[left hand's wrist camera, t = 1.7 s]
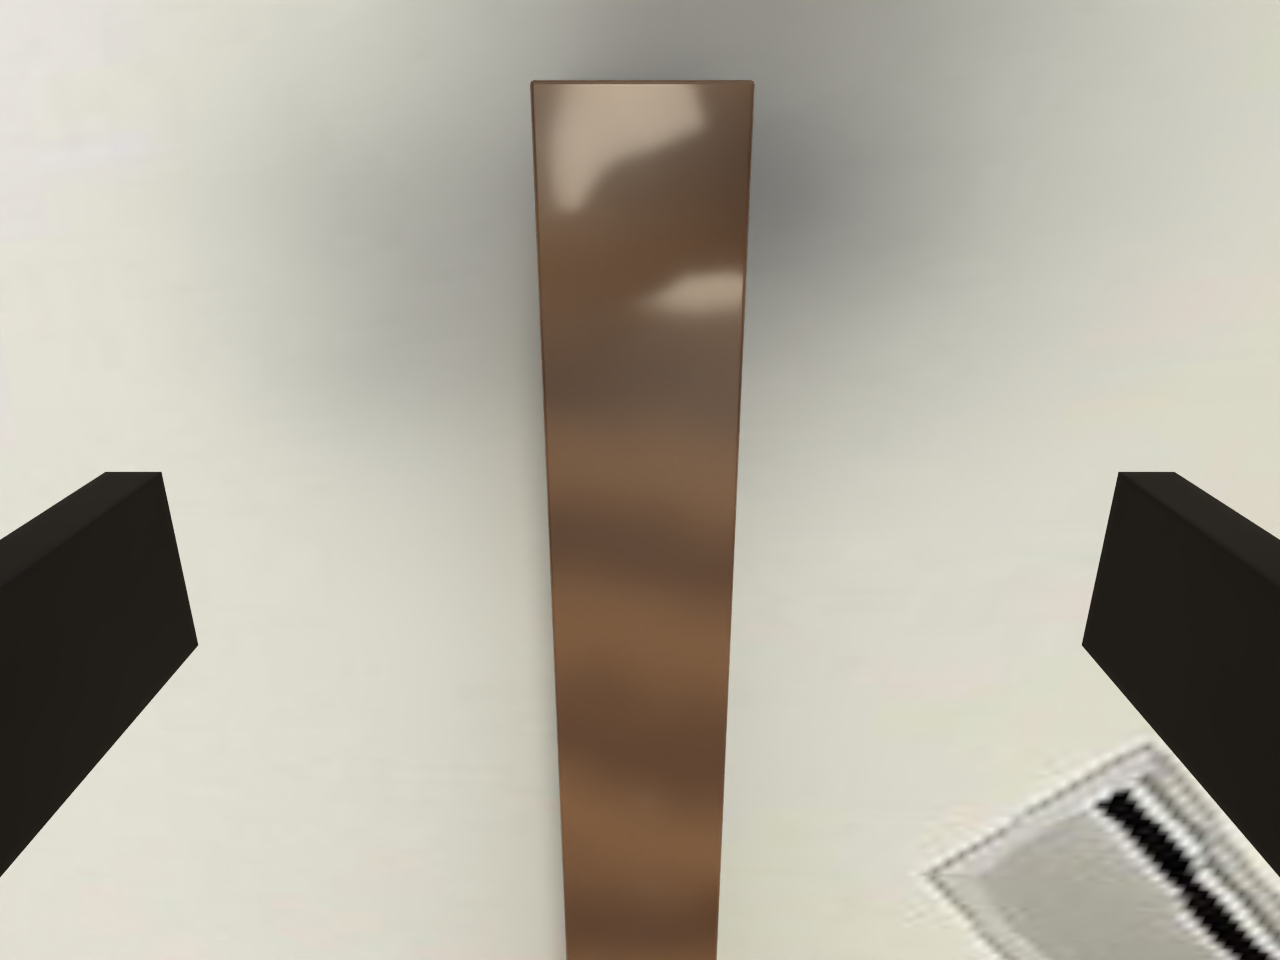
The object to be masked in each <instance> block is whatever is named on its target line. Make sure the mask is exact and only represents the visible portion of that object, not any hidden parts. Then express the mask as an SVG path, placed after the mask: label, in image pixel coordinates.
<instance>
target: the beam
mask: <svg viewBox="0 0 1280 960" xmlns="http://www.w3.org/2000/svg"><path fill="white" fill-rule="evenodd" d="M530 92H531V116H532V140H533V164H534V188H535V212H536V236H537V260H538V284H539V308H540V332H541V356H542V380H543V404H544V428H545V452H546V476H547V500H548V524H549V548H550V572H551V596H552V620H553V644H554V668H555V692H556V716H557V740H558V764H559V788H560V812H561V836H562V860H563V884H564V909H565V933H566V957H567V960H717V937H718V914H719V891H720V868H721V845H722V822H723V799H724V776H725V752H726V729H727V706H728V683H729V660H730V637H731V614H732V591H733V568H734V545H735V522H736V499H737V476H738V453H739V430H740V407H741V384H742V361H743V338H744V315H745V292H746V269H747V246H748V223H749V200H750V177H751V154H752V131H753V108H754V81H752V80H533V81H531V84H530Z"/></svg>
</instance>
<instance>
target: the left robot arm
mask: <svg viewBox="0 0 1280 960" xmlns="http://www.w3.org/2000/svg"><path fill="white" fill-rule="evenodd" d="M197 646H198V642H197V637H196V632H195V628H194V623H193V618H192V614H191V609H190V604H189V600H188V595H187V590H186V585H185V581H184V576H183V571H182V567H181V562H180V557H179V553H178V548H177V543H176V538H175V534H174V529H173V524H172V520H171V515H170V510H169V506H168V501H167V496H166V491H165V487H164V482H163V477H162V473H161V472H105V473H103V474H102V475H100V476H99V477H97V478H95V479H94V480H92V481H91V482H89V483H88V484H86V485H85V486H83V487H81V488H80V489H78V490H77V491H75V492H74V493H72V494H71V495H69V496H68V497H66V498H64V499H63V500H61V501H60V502H58V503H57V504H55V505H54V506H52V507H50V508H49V509H47V510H46V511H44V512H43V513H41V514H40V515H38V516H36V517H35V518H33V519H32V520H30V521H29V522H27V523H26V524H24V525H23V526H21V527H19V528H18V529H16V530H15V531H13V532H12V533H10V534H9V535H7V536H5V537H4V538H2V539H1V540H0V877H1V876H2V874H3V873H4V872H5V871H6V870H7V869H8V867H9V866H10V865H11V864H12V863H13V862H14V860H15V859H16V858H17V857H18V856H19V855H20V853H21V852H22V851H23V850H24V849H25V848H26V846H27V845H28V844H29V843H30V842H31V840H32V839H33V838H34V837H35V836H36V835H37V833H38V832H39V831H40V830H41V829H42V828H43V826H44V825H45V824H46V823H47V822H48V821H49V819H50V818H51V817H52V816H53V815H54V814H55V812H56V811H57V810H58V809H59V808H60V807H61V805H62V804H63V803H64V802H65V801H66V799H67V798H68V797H69V796H70V795H71V794H72V792H73V791H74V790H75V789H76V788H77V787H78V785H79V784H80V783H81V782H82V781H83V780H84V778H85V777H86V776H87V775H88V774H89V773H90V771H91V770H92V769H93V768H94V767H95V765H96V764H97V763H98V762H99V761H100V760H101V758H102V757H103V756H104V755H105V754H106V753H107V751H108V750H109V749H110V748H111V747H112V746H113V744H114V743H115V742H116V741H117V740H118V739H119V737H120V736H121V735H122V734H123V733H124V732H125V730H126V729H127V728H128V727H129V726H130V724H131V723H132V722H133V721H134V720H135V719H136V717H137V716H138V715H139V714H140V713H141V712H142V710H143V709H144V708H145V707H146V706H147V705H148V703H149V702H150V701H151V700H152V699H153V698H154V696H155V695H156V694H157V693H158V692H159V691H160V689H161V688H162V687H163V686H164V685H165V683H166V682H167V681H168V680H169V679H170V678H171V676H172V675H173V674H174V673H175V672H176V671H177V669H178V668H179V667H180V666H181V665H182V664H183V662H184V661H185V660H186V659H187V658H188V657H189V655H190V654H191V653H192V652H193V651H194V650H195V648H196V647H197ZM1082 646H1083V647H1084V648H1085V650H1086V651H1087V652H1088V653H1089V654H1090V655H1091V657H1092V658H1093V659H1094V660H1095V661H1096V662H1097V664H1098V665H1099V666H1100V667H1101V668H1102V669H1103V671H1104V672H1105V673H1106V674H1107V675H1108V676H1109V678H1110V679H1111V680H1112V681H1113V682H1114V683H1115V685H1116V686H1117V687H1118V688H1119V689H1120V691H1121V692H1122V693H1123V694H1124V695H1125V696H1126V698H1127V699H1128V700H1129V701H1130V702H1131V703H1132V705H1133V706H1134V707H1135V708H1136V709H1137V710H1138V712H1139V713H1140V714H1141V715H1142V716H1143V717H1144V719H1145V720H1146V721H1147V722H1148V723H1149V724H1150V726H1151V727H1152V728H1153V729H1154V730H1155V732H1156V733H1157V734H1158V735H1159V736H1160V737H1161V739H1162V740H1163V741H1164V742H1165V743H1166V744H1167V746H1168V747H1169V748H1170V749H1171V750H1172V751H1173V753H1174V754H1175V755H1176V756H1177V757H1178V758H1179V760H1180V761H1181V762H1182V763H1183V764H1184V766H1185V767H1186V768H1187V769H1188V770H1189V771H1190V773H1191V774H1192V775H1193V776H1194V777H1195V778H1196V780H1197V781H1198V782H1199V783H1200V784H1201V785H1202V787H1203V788H1204V789H1205V790H1206V791H1207V792H1208V794H1209V795H1210V796H1211V797H1212V798H1213V799H1214V801H1215V802H1216V803H1217V804H1218V805H1219V807H1220V808H1221V809H1222V810H1223V811H1224V812H1225V814H1226V815H1227V816H1228V817H1229V818H1230V819H1231V821H1232V822H1233V823H1234V824H1235V825H1236V826H1237V828H1238V829H1239V830H1240V831H1241V832H1242V833H1243V835H1244V836H1245V837H1246V838H1247V839H1248V840H1249V842H1250V843H1251V844H1252V845H1253V846H1254V848H1255V849H1256V850H1257V851H1258V852H1259V853H1260V855H1261V856H1262V857H1263V858H1264V859H1265V860H1266V862H1267V863H1268V864H1269V865H1270V866H1271V867H1272V869H1273V870H1274V871H1275V872H1276V873H1277V874H1278V876H1279V877H1280V540H1279V539H1278V538H1276V537H1275V536H1273V535H1271V534H1270V533H1268V532H1267V531H1265V530H1264V529H1262V528H1261V527H1259V526H1257V525H1256V524H1254V523H1253V522H1251V521H1250V520H1248V519H1247V518H1245V517H1244V516H1242V515H1240V514H1239V513H1237V512H1236V511H1234V510H1233V509H1231V508H1230V507H1228V506H1226V505H1225V504H1223V503H1222V502H1220V501H1219V500H1217V499H1216V498H1214V497H1212V496H1211V495H1209V494H1208V493H1206V492H1205V491H1203V490H1202V489H1200V488H1199V487H1197V486H1195V485H1194V484H1192V483H1191V482H1189V481H1188V480H1186V479H1185V478H1183V477H1181V476H1180V475H1178V474H1177V473H1175V472H1119V473H1118V477H1117V482H1116V487H1115V491H1114V496H1113V501H1112V506H1111V510H1110V515H1109V520H1108V524H1107V529H1106V534H1105V538H1104V543H1103V548H1102V553H1101V557H1100V562H1099V567H1098V571H1097V576H1096V581H1095V585H1094V590H1093V595H1092V600H1091V604H1090V609H1089V614H1088V618H1087V623H1086V628H1085V632H1084V637H1083V642H1082Z"/></svg>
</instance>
